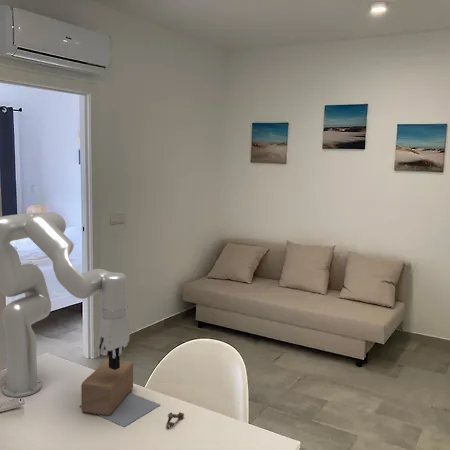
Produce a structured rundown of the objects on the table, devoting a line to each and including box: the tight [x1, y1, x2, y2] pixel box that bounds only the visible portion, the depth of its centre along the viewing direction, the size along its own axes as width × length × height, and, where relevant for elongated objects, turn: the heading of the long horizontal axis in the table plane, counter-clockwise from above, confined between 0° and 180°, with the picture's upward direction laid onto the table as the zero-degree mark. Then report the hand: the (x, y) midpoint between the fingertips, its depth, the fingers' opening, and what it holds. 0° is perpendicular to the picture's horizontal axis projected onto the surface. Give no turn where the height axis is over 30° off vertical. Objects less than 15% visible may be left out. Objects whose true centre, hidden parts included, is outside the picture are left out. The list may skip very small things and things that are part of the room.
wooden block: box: [80, 358, 134, 415], centre depth 165 cm, size 10×10×20 cm
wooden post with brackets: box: [165, 411, 185, 429], centre depth 153 cm, size 2×8×4 cm, turn 152°
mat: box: [79, 391, 161, 428], centre depth 163 cm, size 20×16×1 cm
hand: (114, 368), depth 159 cm, fingers closed
